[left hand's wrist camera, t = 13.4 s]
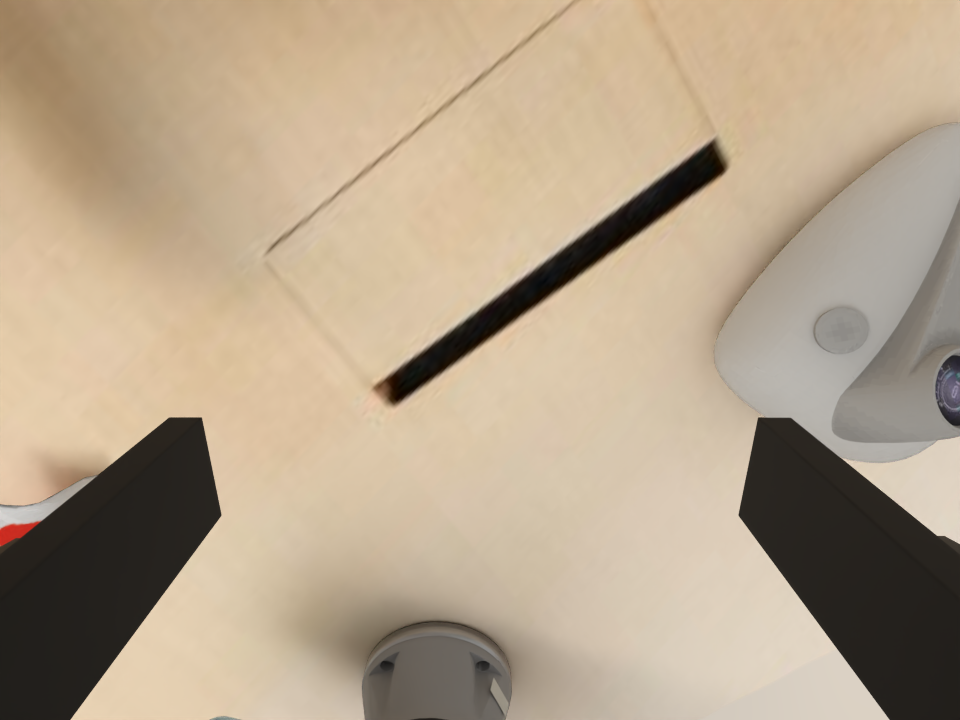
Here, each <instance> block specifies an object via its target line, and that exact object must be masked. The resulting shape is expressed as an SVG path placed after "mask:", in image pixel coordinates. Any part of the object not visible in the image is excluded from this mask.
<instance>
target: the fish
mask: <svg viewBox="0 0 960 720" xmlns="http://www.w3.org/2000/svg"><path fill="white" fill-rule="evenodd" d="M96 476H98V475H95V476H91V477H86V478H84V479H82V480H80V481H78V482H76V483H74V484H73V485H71V486H69V487H68V488H66V489H64V490H62V491H60V492H59V493H57V494H55V495H53V496H51V497H49V498H47V499H46V500H44V501H42V502H40V503H36V504H31V505H25V506H12V505H1V504H0V546H2V545H4V544H6V543H8V542H10V541H12V540H13V539H15V538H21V537H22V536H24V535H25V534H26V533H27V532H28V531H30V530H31V529H32V528H33V527H35V526H36V525H37V524H38V523H40V522H41V521H42V520H43V519H45V518H46V517H47V516H48V515H49V514H51V513H52V512H53V511H54V510H56V509H57V508H58V507H59V506H61V505H62V504H63V503H64V502H66V501H67V500H68V499H69V498H70V497H72V496H73V495H74V494H75V493H77V492H78V491H79V490H80V489H82V488H83V487H84V486H85V485H87V484H88V483H89V482H90V481H91V480H93V479H94V478H95V477H96Z"/></svg>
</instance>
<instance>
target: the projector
mask: <svg viewBox="0 0 960 720" xmlns="http://www.w3.org/2000/svg"><path fill="white" fill-rule="evenodd" d="M714 362H715V366H716V368H717V371H718V373H719V375H720V376H721V378H722V379H723V381H724V382H725V383H726V384H727V386H728V387H729V388H730V389H731V390H732V391H733V392H734V393H735V394H736V395H737V396H738V397H739V398H740V399H741V400H743V401H744V402H745V403H746V404H747V405H749V406H750V407H751V408H753V409H754V410H755V411H757V412H758V413H760V414H761V415H763V416H764V417H766V418H792V419H793V420H794V421H796V422H797V423H798V424H799V425H801V426H802V427H803V428H804V429H805V430H807V431H808V432H809V433H810V434H812V435H813V436H814V437H815V438H817V439H818V440H819V441H820V442H822V443H823V444H824V445H825V446H826V447H828V448H829V449H830V450H831V451H833V452H834V453H835V454H836V455H838V456H839V457H842V458H845V459H849V460H853V461H860V462H869V463H886V462H895V461H899V460H903V459H906V458H909V457H911V456H913V455H916V454H918V453H920V452H921V451H923V450H925V449H926V448H928V447H929V446H931V445H933V444H934V443H935V442H936V441H937V440H942V439H950V438H954V437H959V436H960V123H948V124H943V125H939V126H936V127H933V128H930V129H928V130H926V131H924V132H922V133H920V134H918V135H916V136H915V137H913V138H912V139H910V140H908V141H907V142H905V143H904V144H902V145H901V146H899V147H898V148H897V149H895V150H894V151H892V152H891V153H889V154H888V155H887V156H885V157H884V158H883V159H881V160H880V161H879V162H878V163H876V164H875V165H874V166H872V167H871V168H870V169H868V170H867V171H866V172H864V173H863V174H862V175H861V176H860V177H858V178H857V179H856V180H855V181H854V182H852V183H851V184H850V185H849V186H848V187H846V188H845V189H844V190H843V191H842V192H841V193H839V194H838V195H837V196H836V197H835V198H834V199H833V200H832V201H830V202H829V203H828V204H827V205H826V206H825V207H824V208H823V209H822V210H821V211H820V212H819V213H818V214H816V215H815V216H814V217H813V218H812V219H811V220H810V221H809V222H808V223H807V224H806V225H805V226H804V227H803V228H802V229H801V230H800V231H799V232H798V233H797V234H796V235H795V236H794V237H793V239H792V240H791V241H790V242H789V243H788V244H787V245H786V246H785V247H784V248H783V249H782V250H781V252H780V253H779V254H778V255H777V256H776V257H775V258H774V259H773V260H772V262H771V263H770V264H769V265H768V266H767V267H766V269H765V270H764V271H763V272H762V273H761V274H760V276H759V277H758V278H757V279H756V280H755V282H754V283H753V284H752V285H751V287H750V288H749V289H748V290H747V292H746V293H745V294H744V296H743V297H742V298H741V300H740V301H739V302H738V304H737V305H736V306H735V308H734V309H733V311H732V312H731V314H730V315H729V317H728V318H727V320H726V321H725V323H724V325H723V327H722V329H721V330H720V332H719V335H718V337H717V340H716V343H715V347H714Z"/></svg>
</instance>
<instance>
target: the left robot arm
mask: <svg viewBox="0 0 960 720" xmlns="http://www.w3.org/2000/svg"><path fill="white" fill-rule="evenodd" d="M220 517H221V510H220V505H219V500H218V496H217V491H216V486H215V481H214V476H213V471H212V466H211V461H210V456H209V451H208V446H207V441H206V436H205V431H204V426H203V421H202V418H168V419H167V420H166V421H164V422H163V423H162V424H161V425H159V426H158V427H157V428H156V429H155V430H153V431H152V432H151V433H150V434H148V435H147V436H146V437H145V438H143V439H142V440H141V441H140V442H138V443H137V444H136V445H135V446H134V447H132V448H131V449H130V450H129V451H127V452H126V453H125V454H124V455H122V456H121V457H120V458H119V459H117V460H116V461H115V462H114V463H113V464H111V465H110V466H109V467H108V468H106V469H105V470H104V471H103V472H101V473H100V474H99V475H98V476H96V477H95V478H94V479H93V480H91V481H90V482H89V483H88V484H87V485H85V486H84V487H83V488H82V489H80V490H79V491H78V492H77V493H75V494H74V495H73V496H72V497H70V498H69V499H68V500H67V501H66V502H64V503H63V504H62V505H61V506H59V507H58V508H57V509H56V510H54V511H53V512H52V513H51V514H49V515H48V516H47V517H46V518H45V519H43V520H42V521H41V522H40V523H38V524H37V525H36V526H35V527H33V528H32V529H31V530H30V531H28V532H27V533H26V534H25V535H24V536H22V537H21V538H15V539H13V540H12V541H10V542H8V543H6V544H4V545H2V546H0V720H70V719H71V718H72V717H73V715H74V714H75V713H76V711H77V710H78V709H79V707H80V706H81V705H82V703H83V702H84V700H85V699H86V698H87V696H88V695H89V694H90V692H91V691H92V690H93V688H94V687H95V686H96V684H97V683H98V682H99V680H100V679H101V678H102V676H103V675H104V673H105V672H106V671H107V669H108V668H109V667H110V665H111V664H112V663H113V661H114V660H115V659H116V657H117V656H118V655H119V653H120V652H121V651H122V649H123V648H124V646H125V645H126V644H127V642H128V641H129V640H130V638H131V637H132V636H133V634H134V633H135V632H136V630H137V629H138V628H139V626H140V625H141V623H142V622H143V621H144V619H145V618H146V617H147V615H148V614H149V613H150V611H151V610H152V609H153V607H154V606H155V605H156V603H157V602H158V601H159V599H160V598H161V596H162V595H163V594H164V592H165V591H166V590H167V588H168V587H169V586H170V584H171V583H172V582H173V580H174V579H175V578H176V576H177V575H178V574H179V572H180V571H181V569H182V568H183V567H184V565H185V564H186V563H187V561H188V560H189V559H190V557H191V556H192V555H193V553H194V552H195V551H196V549H197V548H198V546H199V545H200V544H201V542H202V541H203V540H204V538H205V537H206V536H207V534H208V533H209V532H210V530H211V529H212V528H213V526H214V525H215V524H216V522H217V521H218V519H219V518H220ZM739 517H740V518H741V519H742V521H743V522H744V524H745V525H746V526H747V528H748V529H749V530H750V532H751V533H752V534H753V536H754V537H755V538H756V540H757V541H758V542H759V544H760V545H761V546H762V548H763V549H764V551H765V552H766V553H767V555H768V556H769V557H770V559H771V560H772V561H773V563H774V564H775V565H776V567H777V568H778V569H779V571H780V572H781V574H782V575H783V576H784V578H785V579H786V580H787V582H788V583H789V584H790V586H791V587H792V588H793V590H794V591H795V592H796V594H797V595H798V596H799V598H800V599H801V601H802V602H803V603H804V605H805V606H806V607H807V609H808V610H809V611H810V613H811V614H812V615H813V617H814V618H815V619H816V621H817V622H818V623H819V625H820V626H821V628H822V629H823V630H824V632H825V633H826V634H827V636H828V637H829V638H830V640H831V641H832V642H833V644H834V645H835V646H836V648H837V649H838V651H839V652H840V653H841V655H842V656H843V657H844V659H845V660H846V661H847V663H848V664H849V665H850V667H851V668H852V669H853V671H854V672H855V673H856V675H857V676H858V678H859V679H860V680H861V682H862V683H863V684H864V686H865V687H866V688H867V690H868V691H869V692H870V694H871V695H872V696H873V698H874V699H875V700H876V702H877V703H878V705H879V706H880V707H881V709H882V710H883V711H884V713H885V714H886V715H887V717H888V718H889V719H890V720H960V544H958V543H956V542H955V541H953V540H951V539H949V538H947V537H945V536H936V535H935V534H934V533H933V532H932V531H930V530H929V529H928V528H927V527H925V526H924V525H923V524H922V523H920V522H919V521H918V520H917V519H915V518H914V517H913V516H912V515H911V514H909V513H908V512H907V511H906V510H904V509H903V508H902V507H901V506H899V505H898V504H897V503H896V502H894V501H893V500H892V499H891V498H890V497H888V496H887V495H886V494H885V493H883V492H882V491H881V490H880V489H878V488H877V487H876V486H875V485H873V484H872V483H871V482H870V481H869V480H867V479H866V478H865V477H864V476H862V475H861V474H860V473H859V472H857V471H856V470H855V469H854V468H852V467H851V466H850V465H849V464H847V463H846V462H845V461H844V460H843V459H841V458H840V457H839V456H838V455H836V454H835V453H834V452H833V451H831V450H830V449H829V448H828V447H826V446H825V445H824V444H823V443H822V442H820V441H819V440H818V439H817V438H815V437H814V436H813V435H812V434H810V433H809V432H808V431H807V430H805V429H804V428H803V427H802V426H801V425H799V424H798V423H797V422H796V421H794V420H793V419H792V418H758V421H757V426H756V431H755V436H754V441H753V446H752V451H751V456H750V461H749V466H748V471H747V476H746V481H745V486H744V491H743V496H742V500H741V505H740V510H739ZM511 693H512V691H511V673H510V667H509V664H508V661H507V659H506V657H505V655H504V654H503V652H502V651H501V650H500V648H499V647H498V646H497V645H496V644H495V643H494V642H493V641H491V640H490V639H489V638H488V637H486V636H485V635H483V634H481V633H479V632H477V631H475V630H473V629H471V628H468V627H465V626H461V625H457V624H452V623H444V622H428V623H420V624H415V625H411V626H407V627H405V628H402V629H399V630H397V631H395V632H393V633H392V634H390V635H388V636H387V637H386V638H384V639H383V640H382V641H381V642H380V643H379V644H378V645H377V646H376V647H375V648H374V650H373V651H372V652H371V654H370V656H369V658H368V661H367V664H366V669H365V673H364V677H363V682H362V697H363V706H364V715H365V720H505V719H506V716H507V712H508V709H509V705H510V700H511ZM210 720H240V719H235V718H231V717H225V716H221V717H216V718H213V719H210Z"/></svg>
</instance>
